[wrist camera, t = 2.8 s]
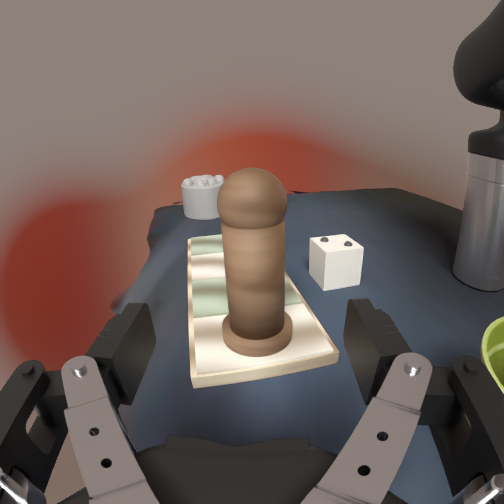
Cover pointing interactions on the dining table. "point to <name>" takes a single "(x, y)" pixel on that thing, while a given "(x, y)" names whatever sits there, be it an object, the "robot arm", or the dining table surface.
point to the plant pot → (494, 351)
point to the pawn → (254, 262)
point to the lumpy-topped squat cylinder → (201, 196)
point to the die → (335, 261)
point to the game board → (216, 309)
